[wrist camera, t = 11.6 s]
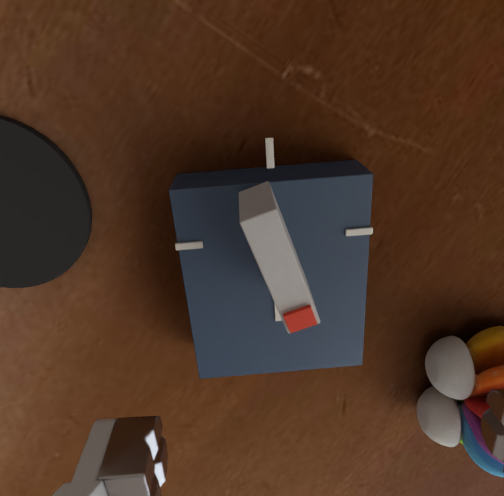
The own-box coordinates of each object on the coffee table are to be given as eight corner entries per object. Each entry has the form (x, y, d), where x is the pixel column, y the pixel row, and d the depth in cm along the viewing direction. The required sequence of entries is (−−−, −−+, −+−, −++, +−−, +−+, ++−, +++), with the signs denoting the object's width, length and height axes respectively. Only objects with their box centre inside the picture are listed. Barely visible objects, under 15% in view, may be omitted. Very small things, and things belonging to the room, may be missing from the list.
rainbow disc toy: (548, 310, 28) (646, 390, 21) (513, 415, 32) (585, 509, 25) (424, 316, 27) (484, 398, 21) (404, 421, 32) (449, 517, 25)
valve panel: (168, 135, 22) (158, 147, 19) (360, 119, 22) (379, 129, 19) (201, 347, 28) (197, 381, 25) (351, 334, 28) (364, 366, 25)
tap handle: (237, 192, 20) (239, 224, 16) (268, 180, 20) (277, 210, 16) (279, 289, 22) (288, 338, 19) (306, 279, 22) (322, 326, 18)
